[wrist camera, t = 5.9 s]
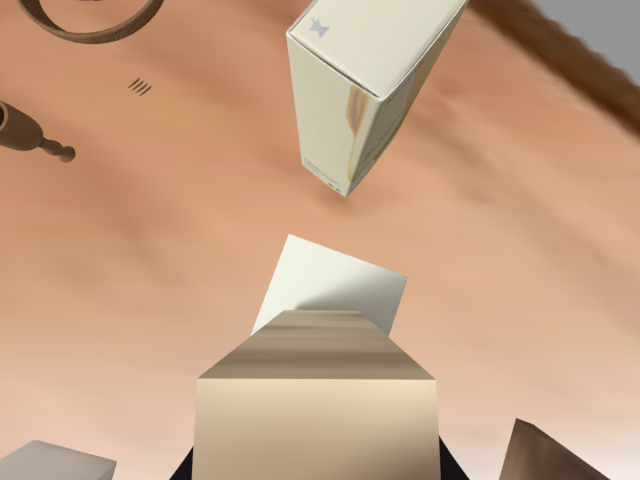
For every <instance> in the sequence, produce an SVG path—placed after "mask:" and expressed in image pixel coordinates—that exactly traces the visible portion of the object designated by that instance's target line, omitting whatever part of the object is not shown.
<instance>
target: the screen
mask: <svg viewBox="0 0 640 480" xmlns="http://www.w3.org/2000/svg"><path fill="white" fill-rule="evenodd" d="M499 480H610V479H609V478H608V477H606V476H605V475H603V474H602V473H601V472H599V471H598V470H596V469H595V468H594V467H592V466H591V465H589V464H588V463H587V462H585V461H584V460H582V459H581V458H580V457H578V456H577V455H575V454H574V453H573V452H571V451H570V450H568V449H567V448H566V447H564V446H563V445H561V444H560V443H559V442H557V441H556V440H554V439H553V438H552V437H550V436H549V435H547V434H546V433H545V432H543V431H542V430H540V429H539V428H538V427H536V426H535V425H534V424H531V423H529V422H526V421H523V420H521V419H518V418H516V420H515V423H514V427H513V430H512V434H511V438H510V441H509V445H508V448H507V452H506V455H505V459H504V463H503V466H502V470H501V473H500V477H499Z"/></svg>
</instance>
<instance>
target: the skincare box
mask: <svg viewBox="0 0 640 480" xmlns="http://www.w3.org/2000/svg"><path fill="white" fill-rule="evenodd" d="M468 2H469V0H313V2H312V3H311V4H310V5H309V6H308V8H307V9H306V10H305V11H304V12H303V13H302V14H301V15H300V17H299V18H298V19H297V20H296V21H295V22H294V24H293V25H292V26H291V27H290V28H289V29H288V30H287V32H286V39H287V47H288V54H289V62H290V69H291V78H292V85H293V94H294V102H295V110H296V118H297V126H298V134H299V142H300V150H301V159H302V164H303V166H304V167H306V168H307V169H308V170H309V171H311V172H312V173H313V174H314V175H315V176H317V177H318V178H319V179H321V180H322V181H323V182H324V183H326V184H327V185H328V186H330V187H331V188H332V189H334V190H335V191H337V192H338V193H339V194H341V195H342V196H344V197H348V196H349V195H350V194H351V192H352V191H353V190H354V189H355V188H356V187H357V185H358V184H359V183H360V182H361V181H362V179H363V178H364V177H365V176H366V175H367V173H368V172H369V171H370V170H371V168H372V167H373V166H374V165H375V163H376V162H377V161H378V159H379V158H380V156H381V155H382V154H383V152H384V151H385V150H386V148H387V147H388V146H389V144H390V143H391V141H392V140H393V139H394V137H395V135H396V134H397V132H398V130H399V128H400V126H401V125H402V123H403V121H404V119H405V117H406V115H407V113H408V111H409V109H410V108H411V106H412V104H413V102H414V101H415V99H416V97H417V95H418V93H419V91H420V90H421V88H422V86H423V84H424V82H425V81H426V79H427V77H428V75H429V73H430V71H431V70H432V68H433V66H434V64H435V62H436V60H437V59H438V57H439V55H440V53H441V51H442V50H443V48H444V46H445V44H446V42H447V41H448V39H449V37H450V35H451V33H452V31H453V30H454V28H455V26H456V24H457V22H458V21H459V19H460V17H461V15H462V13H463V12H464V10H465V8H466V6H467V4H468Z"/></svg>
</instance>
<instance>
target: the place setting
mask: <svg viewBox="0 0 640 480" xmlns="http://www.w3.org/2000/svg"><path fill="white" fill-rule="evenodd" d="M81 1H89V0H81ZM92 1H100V0H92ZM16 2H17V4H18V5H19V6H20V8H21V9H22V11H23V12H24V13H25V14H26V15H27V16H28V17H29V18H30V19H31V20H32V21H34V22H35V23H36V24H37V25H39V26H40V27H41V28H43V29H44V30H46V31H47V32H49V33H51V34H53V35H55V36H57V37H59V38H62V39H64V40H67V41H71V42H75V43H82V44H104V43H110V42H114V41H118V40H120V39H123V38H126V37H128V36H130V35H132V34H134V33H135V32H137V31H138V30H140V29H141V28H142V27H144V26H145V25H146V24H147V23H148V22H149V21H150V20H151V19H152V18H153V17H154V16H155V15H156V13H157V12H158V10H159V9H160V7H161V5H162V4H163V2H164V0H148V2H147V3H146V4H145V5H144V6H143V7H142V8H141V9H140V10H139V11H138V12H137V13H136V14H135V15H133V16H132V17H131V18H129V19H128V20H126V21H124V22H123V23H121V24H119V25H117V26H114V27H111V28H109V29H106V30H102V31H97V32H90V33H73V32H67V31H65V30H63V29H62V28H60V27H59V26H57V25H56V24H55V23H53V22H52V20H51V19H50V18H49V17H48V16H47V15H46V13H45V12H44V10H43V8H42V6H41V4H40V1H39V0H16ZM139 80H140V78H138V79H137V80H136V81H134V82H133V83H132V84H131V85H130V86H129V87H128V88H130V87H131V86H133V85H134V84H136V83H137V82H138V81H139ZM143 82H144V80H143V81H141V82H140V83H139V84H138V85H137V86H135V87H134V88H133V89H132V90H134V89H136V88H138V87H139V86H140V85H142V84H143ZM147 84H148V83H146V84H145V85H144V86H142V87H141V88H140V89H139V90H138V91H137V92H136V93H138V92H139V91H141V90H142V89H144V88H145V87H146V86H147ZM151 87H152V86H150V87H148V88H147V89H146V90H145V91H143V92H142V93H141V94H140V95H139V96H141V95H143V94H144V93H146V92H147V91H148V90H150V88H151ZM0 145H1V146H3V147H6V148H10V149H13V150H18V151H30V150H33V149H35V148H37V147H39V148H42V149H43V150H44V151H45V152H46V153H48V154H49V155H53V156H58V158H59V160H60V161H62V162H64V163H68V162H71V161H72V160H73V159H74V158H75V155H76V152H75V149H74V148H73V147H71V146H64V147H63V146H62V145H61V144H60V143H59V142H57V141H55V140H48V139H46V138H44V137H43V130H42V128H41V127H40V125H39V124H38V123H37V122H36V121H35V120H34V119H32V118H31V117H30V116H28V115H27V114H25V113H23V112H21V111H20V110H18V109H16V108H14V107H13V106H11V105H9V104H7V103H5V102H3V101H1V100H0Z"/></svg>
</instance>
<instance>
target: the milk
mask: <svg viewBox="0 0 640 480" xmlns="http://www.w3.org/2000/svg"><path fill="white" fill-rule="evenodd" d="M116 464H117V461H114V460H111V459H107V458H103V457H99V456H95V455H92V454H88V453H84V452H80V451H77V450H73V449H69V448H65V447H61V446H58V445H54V444H50V443H46V442H42V441H39V440H32V441H31V442H29V443H27V444H25V445H24V446H22V447H20V448H19V449H17V450H15V451H13V452H12V453H10V454H8V455H7V456H5V457H3V458H1V459H0V480H112V478H113V475H114V471H115V468H116Z"/></svg>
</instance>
